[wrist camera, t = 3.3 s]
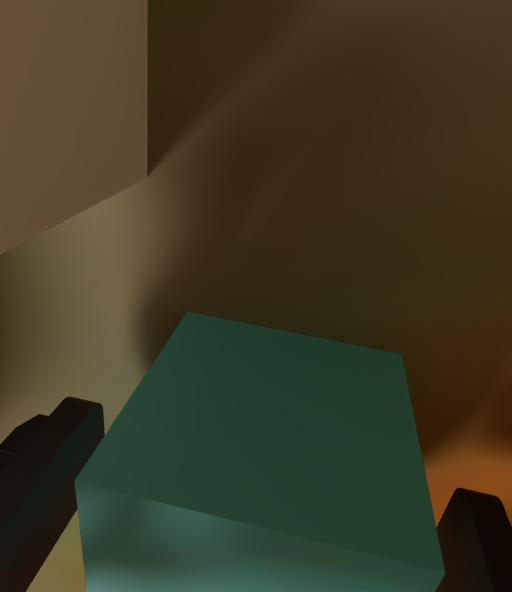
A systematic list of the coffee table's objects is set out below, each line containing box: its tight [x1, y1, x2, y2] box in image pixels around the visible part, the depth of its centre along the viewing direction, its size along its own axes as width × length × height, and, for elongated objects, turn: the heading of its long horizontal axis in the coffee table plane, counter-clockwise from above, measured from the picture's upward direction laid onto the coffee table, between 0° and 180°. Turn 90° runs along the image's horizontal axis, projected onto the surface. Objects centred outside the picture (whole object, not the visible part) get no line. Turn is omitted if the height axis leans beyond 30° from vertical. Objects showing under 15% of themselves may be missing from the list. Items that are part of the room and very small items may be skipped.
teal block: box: [75, 311, 445, 592], centre depth 9 cm, size 5×5×5 cm
